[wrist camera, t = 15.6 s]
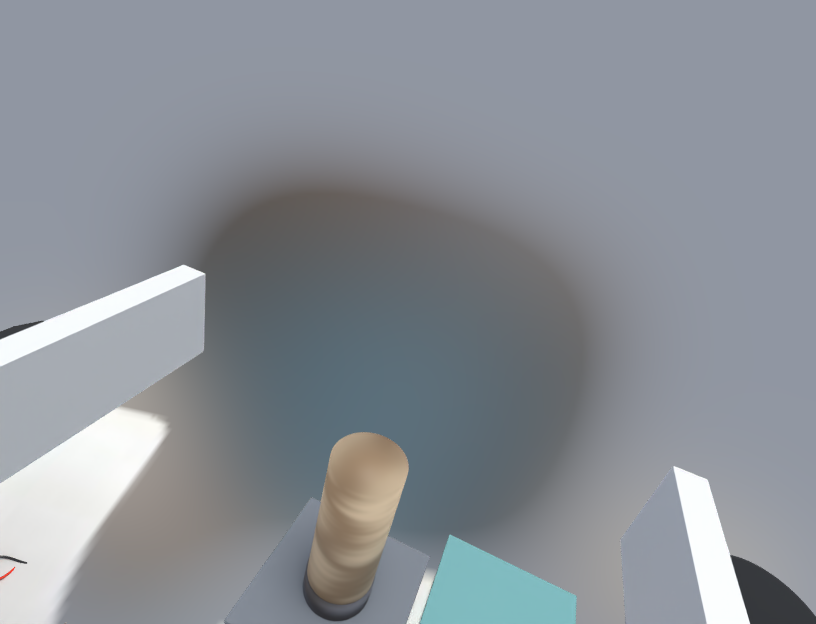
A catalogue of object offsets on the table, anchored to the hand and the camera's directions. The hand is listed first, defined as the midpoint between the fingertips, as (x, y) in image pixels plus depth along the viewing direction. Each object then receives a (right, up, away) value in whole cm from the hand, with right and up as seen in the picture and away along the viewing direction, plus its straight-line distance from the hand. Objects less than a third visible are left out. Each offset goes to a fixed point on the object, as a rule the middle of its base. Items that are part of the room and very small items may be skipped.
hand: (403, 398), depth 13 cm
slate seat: (-6, -20, +25) cm, 32 cm away
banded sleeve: (-6, -19, +25) cm, 32 cm away
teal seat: (+7, -23, +25) cm, 35 cm away
